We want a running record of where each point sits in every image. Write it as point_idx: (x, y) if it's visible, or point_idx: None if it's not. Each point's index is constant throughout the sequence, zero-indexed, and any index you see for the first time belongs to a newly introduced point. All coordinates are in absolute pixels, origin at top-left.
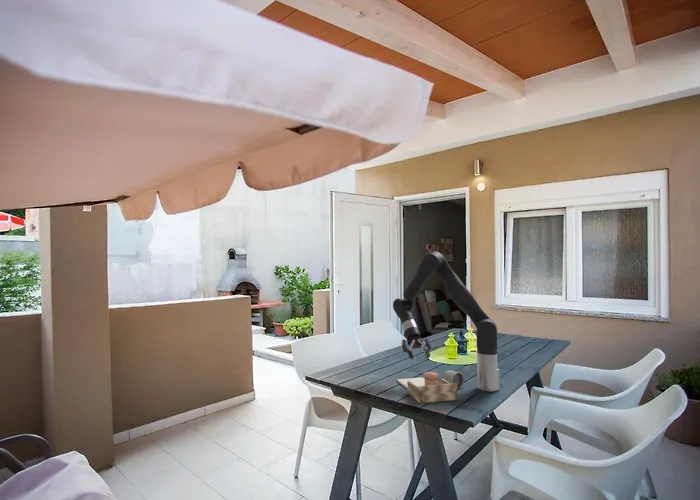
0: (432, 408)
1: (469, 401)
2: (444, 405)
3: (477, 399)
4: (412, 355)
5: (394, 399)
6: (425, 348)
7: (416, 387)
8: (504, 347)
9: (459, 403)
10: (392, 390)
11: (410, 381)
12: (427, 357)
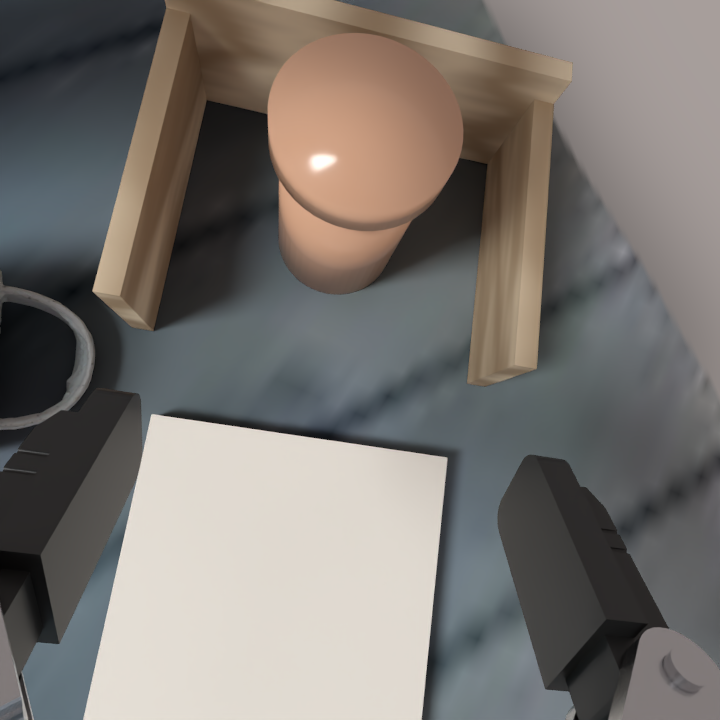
0: None
1: (129, 10)
2: None
3: (27, 8)
4: (563, 483)
5: (642, 297)
6: (8, 628)
7: (547, 161)
8: None
9: None
10: None
11: (314, 649)
12: (136, 450)
